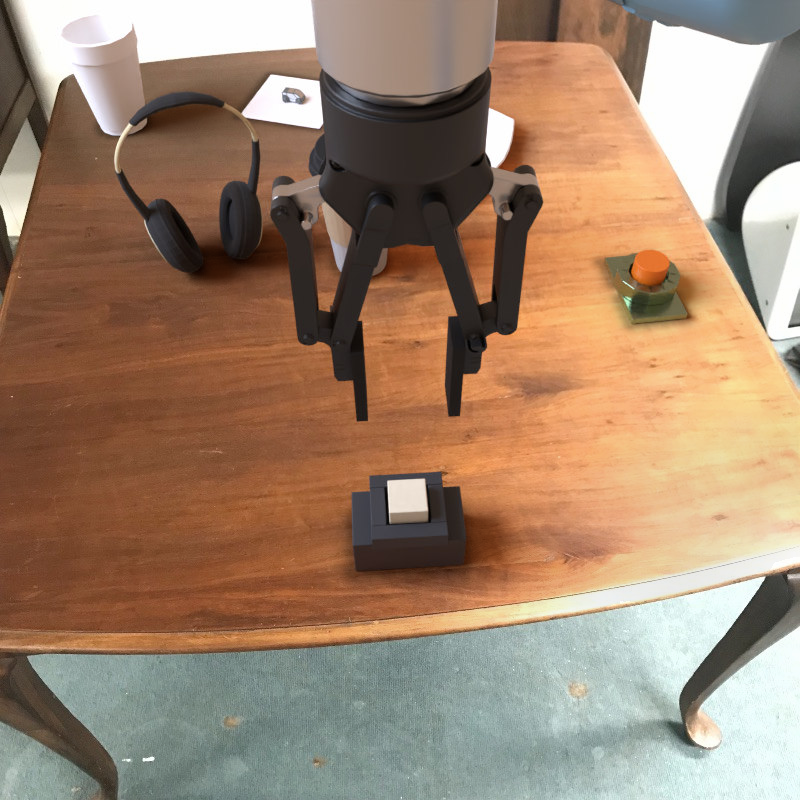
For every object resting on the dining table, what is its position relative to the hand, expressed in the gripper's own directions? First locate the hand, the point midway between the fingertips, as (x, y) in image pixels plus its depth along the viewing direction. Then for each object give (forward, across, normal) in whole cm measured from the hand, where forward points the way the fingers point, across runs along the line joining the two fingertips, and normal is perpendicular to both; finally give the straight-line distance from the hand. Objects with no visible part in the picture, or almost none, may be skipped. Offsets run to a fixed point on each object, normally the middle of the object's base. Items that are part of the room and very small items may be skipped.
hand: (407, 402), depth 51 cm
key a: (+13, 0, 0) cm, 13 cm away
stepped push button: (+19, 0, 0) cm, 19 cm away
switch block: (+19, -28, -29) cm, 45 cm away
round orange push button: (+17, -28, -29) cm, 44 cm away
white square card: (+19, +12, -72) cm, 75 cm away
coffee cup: (+19, +3, -36) cm, 41 cm away
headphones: (+19, +20, -38) cm, 47 cm away
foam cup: (+19, +35, -68) cm, 79 cm away
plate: (+19, -6, -58) cm, 61 cm away
